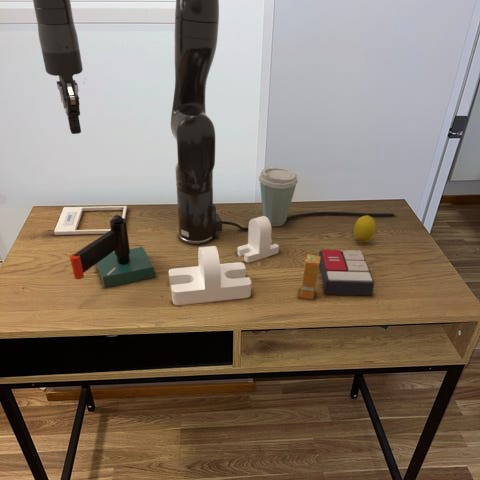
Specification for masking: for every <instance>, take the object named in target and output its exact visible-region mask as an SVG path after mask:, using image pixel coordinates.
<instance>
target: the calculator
mask: <svg viewBox="0 0 480 480" xmlns="http://www.w3.org/2000/svg"><path fill="white" fill-rule="evenodd" d="M318 256H320V257H321V259H320V264H319V270H320V274H321V280H322V285H323V291H324V294H325V295H335V296H337V295H339V296H340V295H341V296H372V295H373V291H374V286H375V280H374V278H373V276H372V273H371V270H370V268H369V265H368V263H367V260H366V258H365V255H364V253H363V251H362V250H346V249H344V250H343V249H342V251H341V250H340V249H321V250H319V251H318Z"/></svg>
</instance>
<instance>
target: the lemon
mask: <svg viewBox="0 0 480 480" xmlns="http://www.w3.org/2000/svg"><path fill="white" fill-rule="evenodd" d="M376 228H377V227H376V221H375V219H374V218H373V217H372V216H369V215H366V216H365V215H361V216H359V218H358V219H357V220H356V222H355V224H354V227H353V234H354V237H355V239H357V241H359V242H360V243H365V242H368V241H370V240H372V238H374V235H375V232H376Z"/></svg>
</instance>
